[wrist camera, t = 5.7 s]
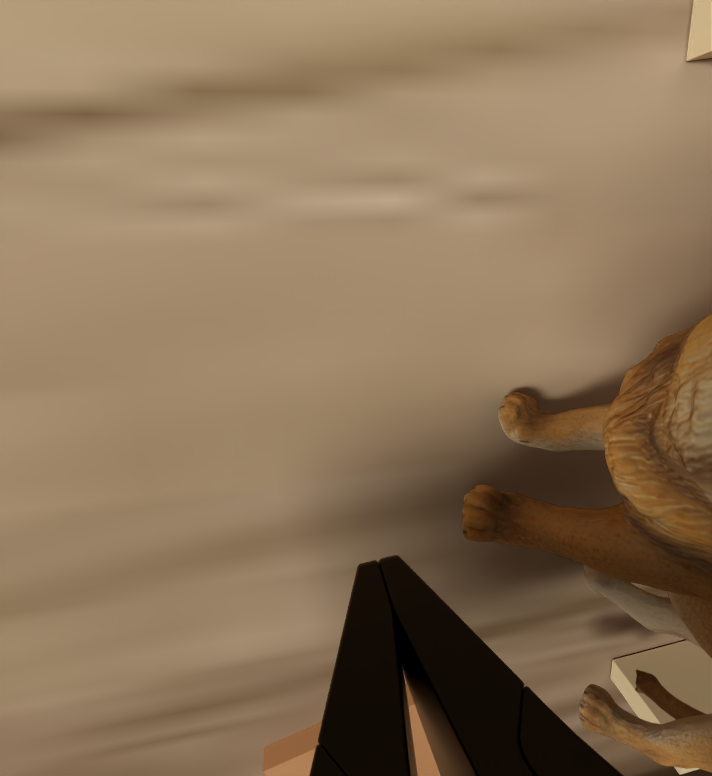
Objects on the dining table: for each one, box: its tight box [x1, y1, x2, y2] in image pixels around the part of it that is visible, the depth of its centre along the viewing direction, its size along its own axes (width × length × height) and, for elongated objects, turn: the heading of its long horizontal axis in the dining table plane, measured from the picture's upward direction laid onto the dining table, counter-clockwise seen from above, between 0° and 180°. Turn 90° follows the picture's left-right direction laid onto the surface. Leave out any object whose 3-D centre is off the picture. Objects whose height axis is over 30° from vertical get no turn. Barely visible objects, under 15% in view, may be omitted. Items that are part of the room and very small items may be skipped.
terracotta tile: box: [263, 684, 441, 776], centre depth 15 cm, size 6×6×1 cm
